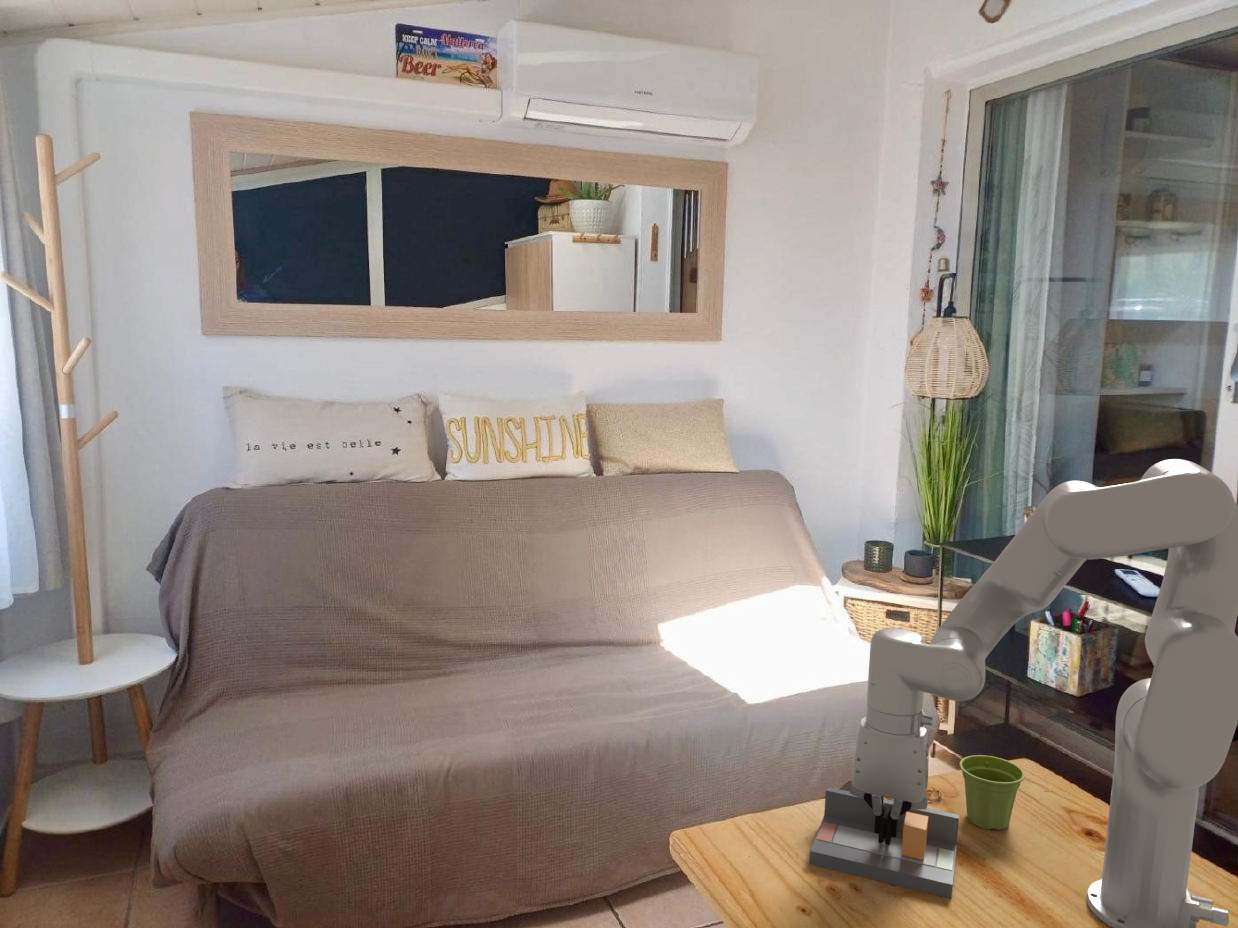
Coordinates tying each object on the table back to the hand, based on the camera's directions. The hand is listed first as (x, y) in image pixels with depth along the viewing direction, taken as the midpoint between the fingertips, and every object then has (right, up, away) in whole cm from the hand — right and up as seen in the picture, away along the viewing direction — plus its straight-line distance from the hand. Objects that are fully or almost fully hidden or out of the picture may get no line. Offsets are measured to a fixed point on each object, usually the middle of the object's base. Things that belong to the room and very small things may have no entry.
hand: (885, 838), depth 132 cm
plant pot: (+19, -2, +12) cm, 23 cm away
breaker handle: (+4, -1, -1) cm, 4 cm away
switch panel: (0, -3, 0) cm, 3 cm away
